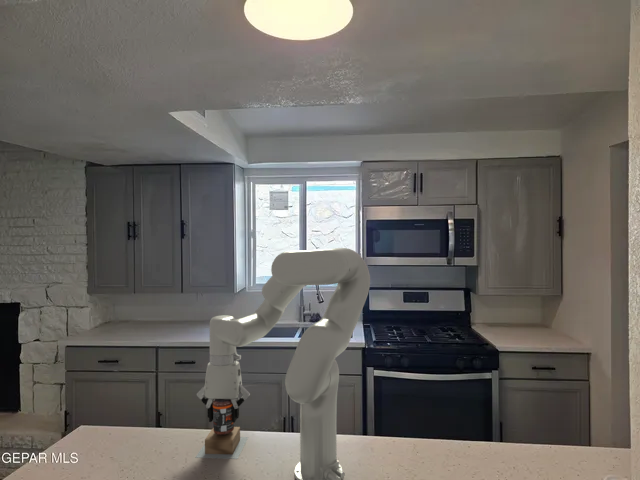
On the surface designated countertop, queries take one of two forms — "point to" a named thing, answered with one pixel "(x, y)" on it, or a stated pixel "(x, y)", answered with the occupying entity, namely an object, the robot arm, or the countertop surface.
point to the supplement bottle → (222, 416)
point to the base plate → (224, 456)
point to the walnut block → (222, 442)
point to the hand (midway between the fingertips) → (223, 419)
